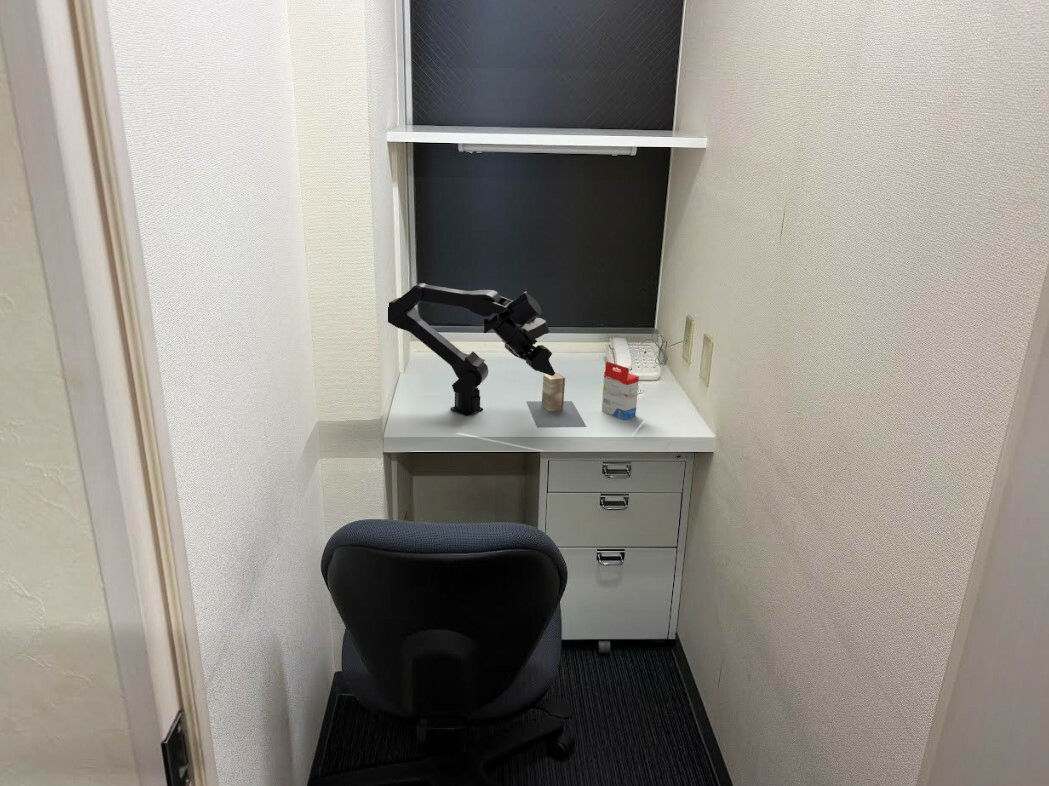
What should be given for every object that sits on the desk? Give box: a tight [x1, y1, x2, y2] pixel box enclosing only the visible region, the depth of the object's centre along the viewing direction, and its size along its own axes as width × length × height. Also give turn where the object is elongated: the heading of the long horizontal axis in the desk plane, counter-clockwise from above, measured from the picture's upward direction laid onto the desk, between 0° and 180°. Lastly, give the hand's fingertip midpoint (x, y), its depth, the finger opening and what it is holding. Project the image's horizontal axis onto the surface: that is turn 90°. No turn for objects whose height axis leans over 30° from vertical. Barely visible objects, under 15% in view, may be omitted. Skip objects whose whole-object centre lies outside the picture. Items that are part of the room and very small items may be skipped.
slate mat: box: [526, 400, 587, 429], centre depth 212 cm, size 19×13×1 cm
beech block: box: [541, 372, 566, 411], centre depth 214 cm, size 4×4×9 cm
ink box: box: [601, 361, 640, 421], centre depth 212 cm, size 8×5×15 cm, turn 43°
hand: (546, 369), depth 211 cm, fingers open, 9 cm apart
